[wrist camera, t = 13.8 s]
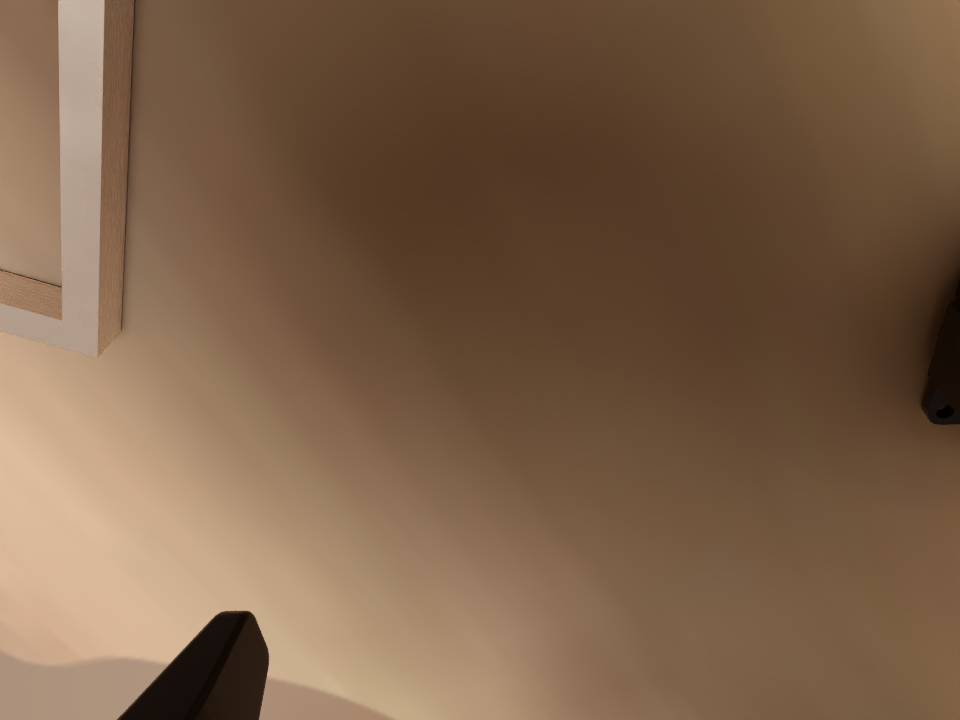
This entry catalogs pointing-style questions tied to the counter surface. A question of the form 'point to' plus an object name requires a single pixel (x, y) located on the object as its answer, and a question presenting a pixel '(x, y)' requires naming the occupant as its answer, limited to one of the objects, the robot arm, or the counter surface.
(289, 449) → the counter surface
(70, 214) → the socket rail
